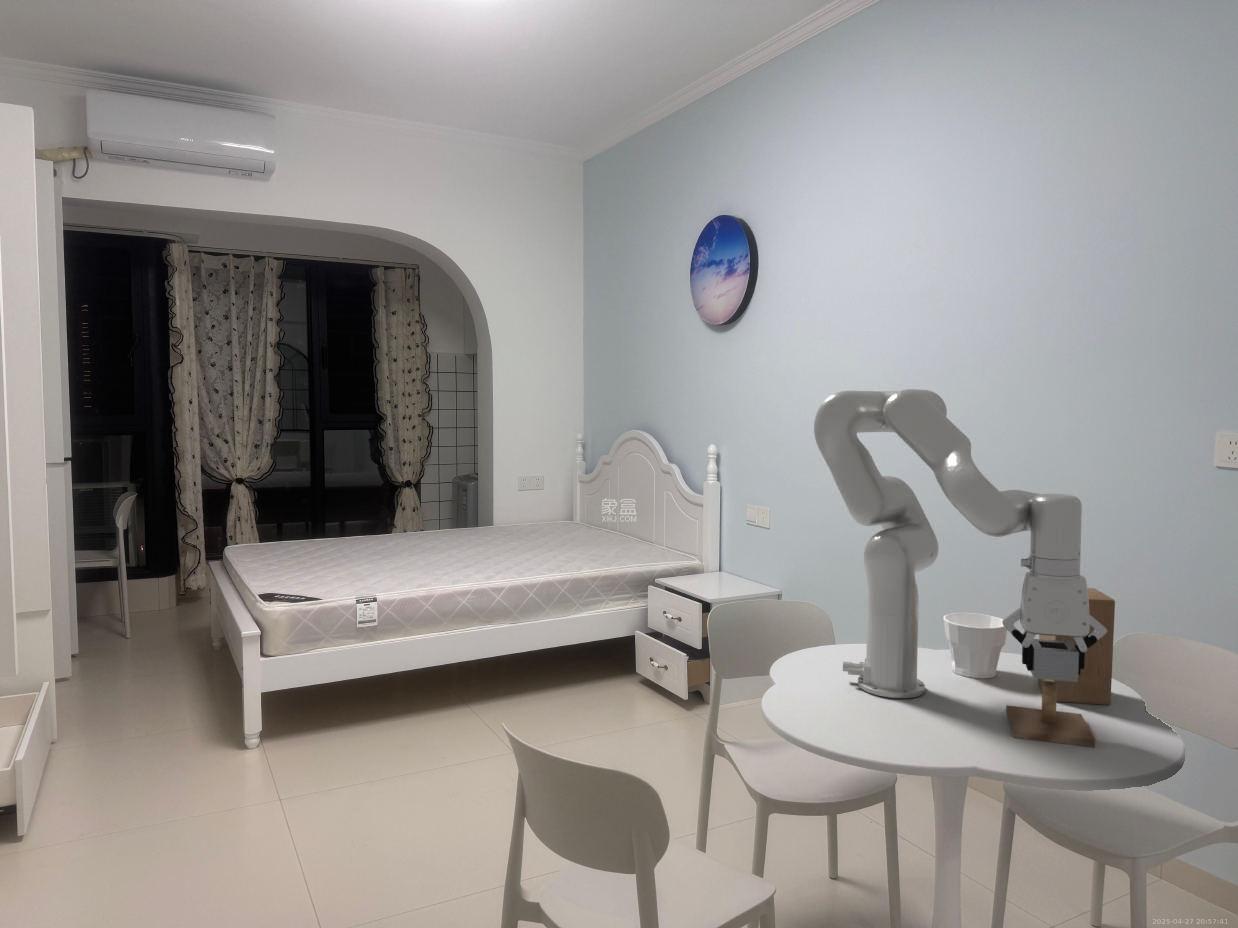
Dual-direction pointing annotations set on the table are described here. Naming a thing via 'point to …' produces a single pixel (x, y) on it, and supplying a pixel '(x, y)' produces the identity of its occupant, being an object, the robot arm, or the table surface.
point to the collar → (1054, 660)
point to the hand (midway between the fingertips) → (1052, 669)
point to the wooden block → (1091, 658)
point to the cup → (974, 643)
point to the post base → (1049, 732)
